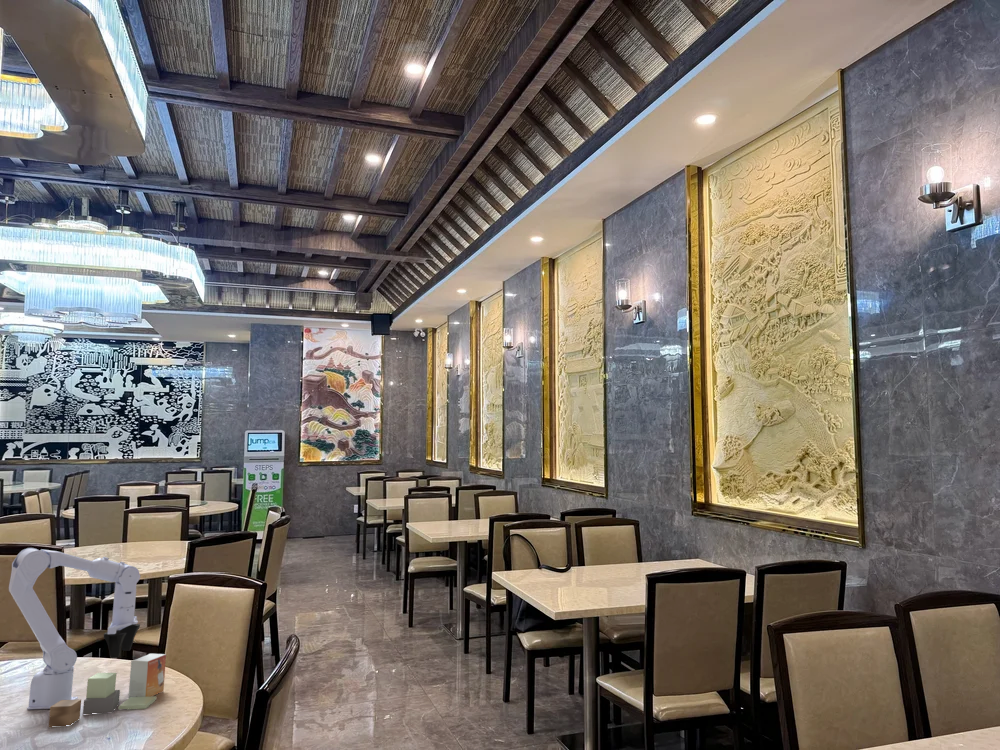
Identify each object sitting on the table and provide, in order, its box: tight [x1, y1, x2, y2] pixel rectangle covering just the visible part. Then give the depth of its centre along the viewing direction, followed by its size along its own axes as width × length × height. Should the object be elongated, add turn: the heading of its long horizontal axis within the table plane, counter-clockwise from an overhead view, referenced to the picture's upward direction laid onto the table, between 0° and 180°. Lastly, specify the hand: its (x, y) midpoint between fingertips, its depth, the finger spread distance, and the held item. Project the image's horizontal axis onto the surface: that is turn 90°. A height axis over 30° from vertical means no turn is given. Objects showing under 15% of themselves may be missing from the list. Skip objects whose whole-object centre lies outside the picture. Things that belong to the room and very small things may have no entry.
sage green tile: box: [118, 695, 157, 710], centre depth 183 cm, size 7×7×1 cm
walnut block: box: [48, 698, 82, 728], centre depth 170 cm, size 5×5×5 cm
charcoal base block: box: [82, 689, 121, 715], centre depth 180 cm, size 7×7×4 cm
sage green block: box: [85, 672, 117, 699], centre depth 180 cm, size 5×5×5 cm
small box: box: [127, 653, 167, 699], centre depth 192 cm, size 8×6×10 cm
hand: (120, 653), depth 196 cm, fingers open, 7 cm apart
